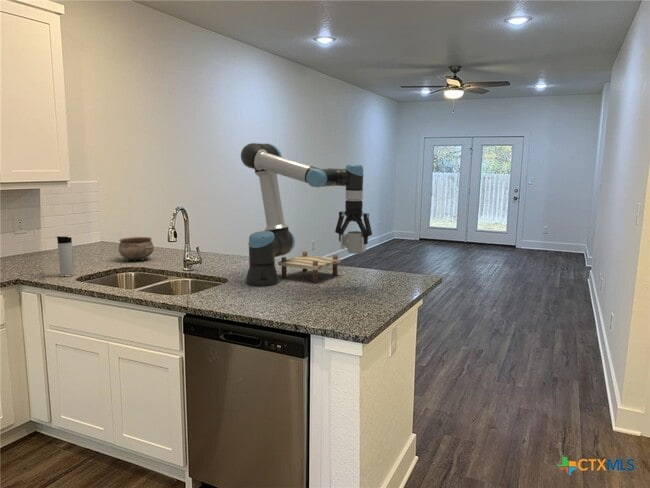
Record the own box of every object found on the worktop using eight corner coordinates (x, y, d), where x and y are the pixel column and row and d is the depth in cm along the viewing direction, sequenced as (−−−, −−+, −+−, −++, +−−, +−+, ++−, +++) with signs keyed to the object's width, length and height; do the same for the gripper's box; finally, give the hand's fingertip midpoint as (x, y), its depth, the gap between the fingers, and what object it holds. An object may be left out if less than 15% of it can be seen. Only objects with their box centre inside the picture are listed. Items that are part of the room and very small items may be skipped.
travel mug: (57, 276, 246) (53, 236, 243) (69, 273, 252) (65, 234, 249) (65, 277, 243) (61, 237, 240) (77, 275, 249) (74, 235, 246)
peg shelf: (316, 283, 230) (316, 262, 228) (278, 278, 241) (278, 257, 240) (340, 274, 248) (340, 255, 247) (303, 270, 260) (303, 251, 258)
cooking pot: (108, 260, 286) (107, 239, 284) (136, 255, 302) (134, 235, 300) (138, 265, 274) (136, 243, 272) (164, 259, 290) (163, 238, 288)
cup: (357, 254, 216) (358, 234, 215) (339, 251, 222) (339, 231, 221) (366, 252, 222) (367, 232, 220) (348, 249, 228) (348, 230, 226)
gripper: (381, 200, 216) (379, 251, 219) (336, 198, 227) (335, 246, 231) (373, 202, 209) (372, 254, 213) (327, 199, 221) (326, 248, 225)
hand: (353, 250), depth 222 cm, fingers closed on cup, 10 cm apart
